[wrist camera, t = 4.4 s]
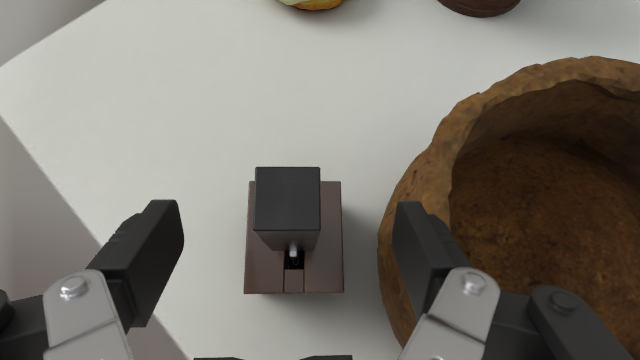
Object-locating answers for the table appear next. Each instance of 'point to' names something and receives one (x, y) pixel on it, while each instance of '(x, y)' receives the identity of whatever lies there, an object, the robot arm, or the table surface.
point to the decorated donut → (312, 4)
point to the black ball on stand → (480, 7)
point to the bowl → (537, 189)
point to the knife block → (319, 265)
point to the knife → (287, 208)
